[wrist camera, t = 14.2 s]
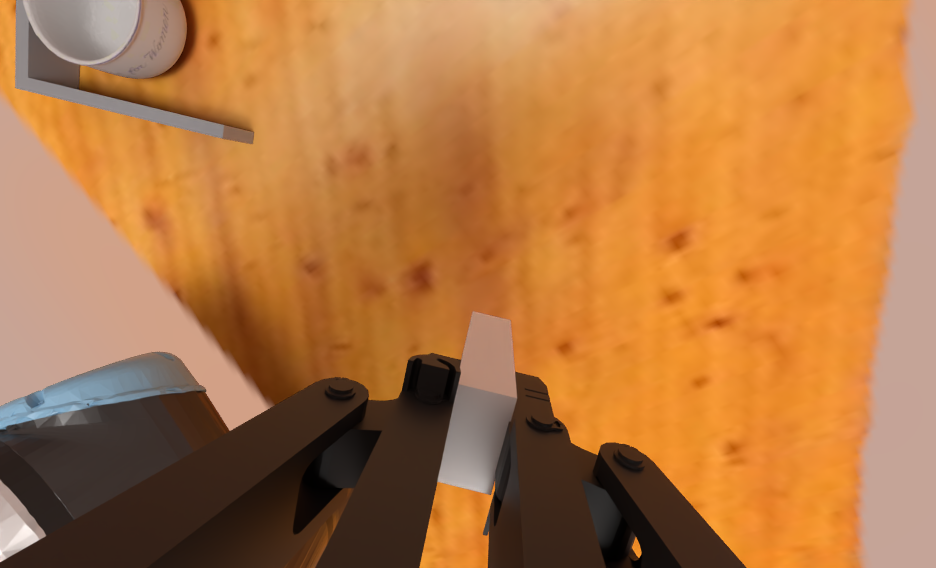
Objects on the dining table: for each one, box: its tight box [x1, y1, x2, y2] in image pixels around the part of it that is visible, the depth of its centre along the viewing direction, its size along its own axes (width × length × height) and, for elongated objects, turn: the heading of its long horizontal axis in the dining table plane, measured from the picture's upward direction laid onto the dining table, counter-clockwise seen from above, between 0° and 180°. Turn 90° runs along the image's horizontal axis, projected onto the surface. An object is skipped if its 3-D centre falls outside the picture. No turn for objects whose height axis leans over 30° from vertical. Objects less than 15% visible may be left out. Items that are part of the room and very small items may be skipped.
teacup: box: [23, 0, 187, 79], centre depth 40 cm, size 14×11×8 cm
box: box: [15, 0, 254, 144], centre depth 41 cm, size 18×20×5 cm
